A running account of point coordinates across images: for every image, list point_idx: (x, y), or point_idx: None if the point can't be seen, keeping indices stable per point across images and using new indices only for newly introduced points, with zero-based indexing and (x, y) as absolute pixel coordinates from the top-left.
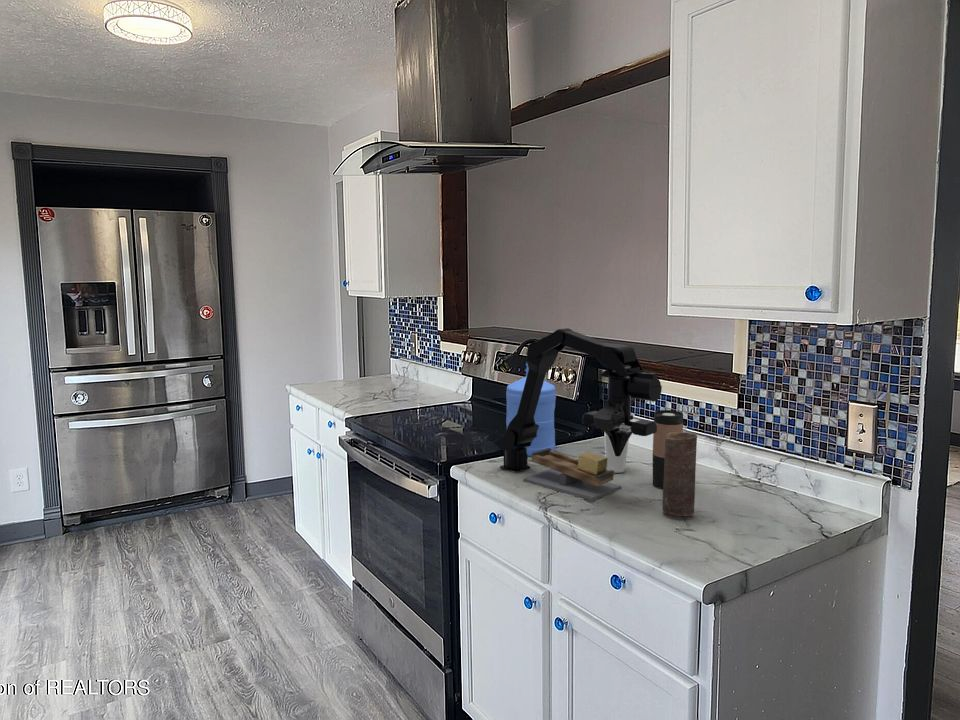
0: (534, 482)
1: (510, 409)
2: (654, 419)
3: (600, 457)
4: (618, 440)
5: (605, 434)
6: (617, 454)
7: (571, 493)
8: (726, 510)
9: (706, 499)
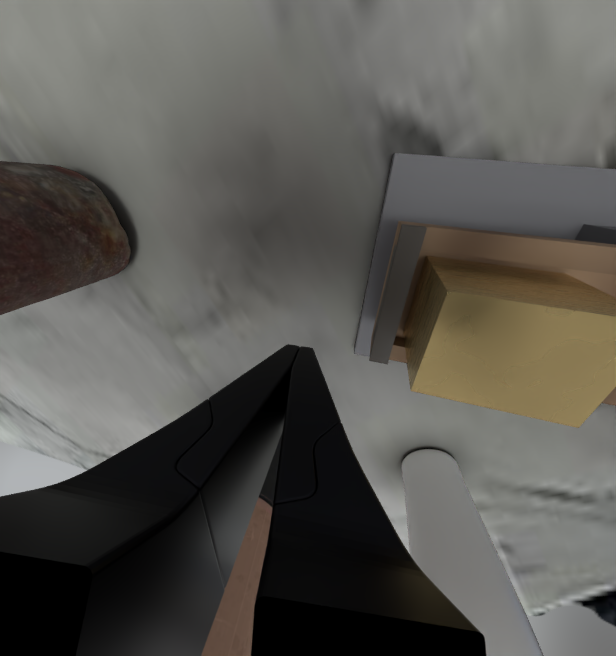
0: None
1: None
2: None
3: (456, 371)
4: (192, 450)
5: (525, 616)
6: (287, 350)
7: (525, 163)
8: (64, 335)
9: (142, 379)
